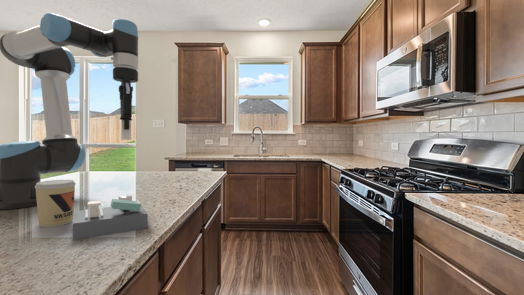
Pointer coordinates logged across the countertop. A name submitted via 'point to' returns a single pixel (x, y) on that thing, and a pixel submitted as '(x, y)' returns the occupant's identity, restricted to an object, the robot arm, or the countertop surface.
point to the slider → (94, 208)
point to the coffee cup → (55, 202)
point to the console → (108, 222)
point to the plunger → (125, 198)
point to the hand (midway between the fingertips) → (126, 139)
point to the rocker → (125, 205)
